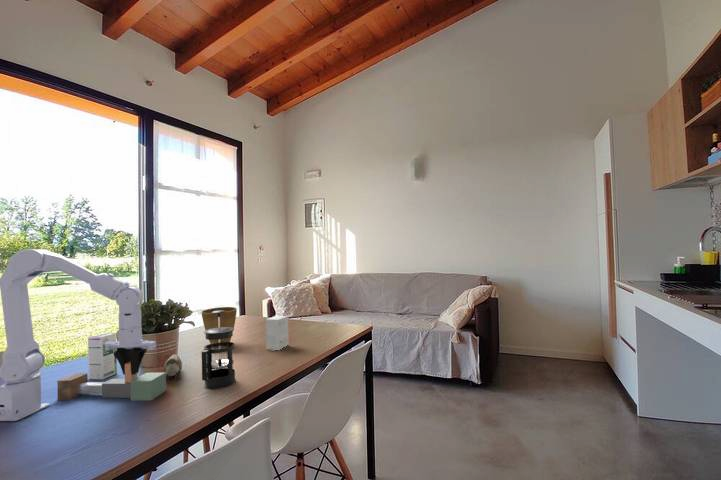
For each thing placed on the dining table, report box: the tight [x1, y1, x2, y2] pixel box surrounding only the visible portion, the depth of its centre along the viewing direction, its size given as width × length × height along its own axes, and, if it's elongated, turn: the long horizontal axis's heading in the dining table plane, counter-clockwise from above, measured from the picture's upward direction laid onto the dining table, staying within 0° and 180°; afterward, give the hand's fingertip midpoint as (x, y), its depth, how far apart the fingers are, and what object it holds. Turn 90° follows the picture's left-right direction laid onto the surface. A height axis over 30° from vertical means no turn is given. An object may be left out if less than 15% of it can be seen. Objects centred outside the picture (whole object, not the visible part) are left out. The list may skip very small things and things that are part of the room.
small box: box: [264, 315, 290, 351], centre depth 154 cm, size 8×6×13 cm
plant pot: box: [200, 306, 238, 348], centre depth 161 cm, size 15×15×16 cm
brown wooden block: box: [56, 372, 89, 401], centre depth 108 cm, size 4×6×6 cm, turn 176°
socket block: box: [130, 371, 167, 401], centre depth 106 cm, size 6×7×6 cm
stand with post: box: [101, 362, 138, 399], centre depth 106 cm, size 13×4×9 cm, turn 86°
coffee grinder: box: [201, 310, 237, 390], centre depth 114 cm, size 12×9×23 cm
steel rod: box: [76, 381, 104, 395], centre depth 107 cm, size 13×2×2 cm, turn 86°
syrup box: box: [87, 332, 118, 380], centre depth 124 cm, size 6×6×14 cm
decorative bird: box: [163, 353, 183, 382], centre depth 123 cm, size 5×16×8 cm, turn 23°
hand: (130, 373), depth 106 cm, fingers closed on stand with post, 2 cm apart
